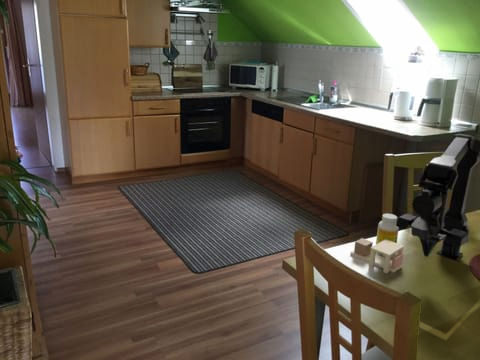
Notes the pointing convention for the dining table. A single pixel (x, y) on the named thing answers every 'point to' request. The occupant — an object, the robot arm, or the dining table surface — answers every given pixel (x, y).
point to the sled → (363, 253)
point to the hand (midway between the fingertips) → (426, 256)
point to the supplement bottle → (387, 229)
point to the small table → (385, 252)
